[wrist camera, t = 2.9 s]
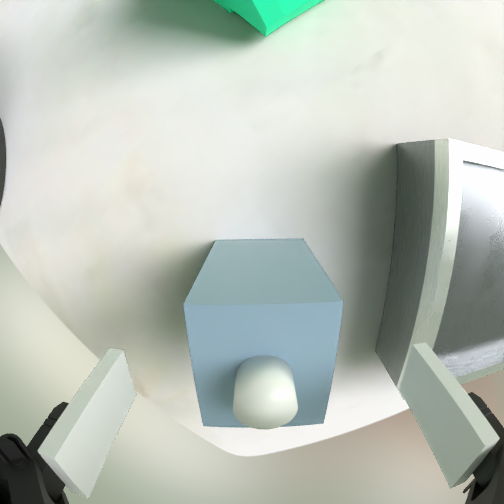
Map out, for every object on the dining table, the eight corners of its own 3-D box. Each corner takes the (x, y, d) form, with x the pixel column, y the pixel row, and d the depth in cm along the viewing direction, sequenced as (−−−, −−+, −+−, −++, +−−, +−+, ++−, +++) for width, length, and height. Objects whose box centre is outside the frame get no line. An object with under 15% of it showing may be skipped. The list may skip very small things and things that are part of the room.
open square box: (375, 350, 23) (403, 399, 17) (397, 143, 18) (449, 138, 12) (495, 327, 23) (529, 357, 16) (522, 169, 18) (569, 177, 12)
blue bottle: (221, 328, 22) (198, 456, 11) (215, 239, 20) (169, 332, 9) (299, 326, 22) (330, 453, 11) (303, 238, 20) (359, 328, 9)
